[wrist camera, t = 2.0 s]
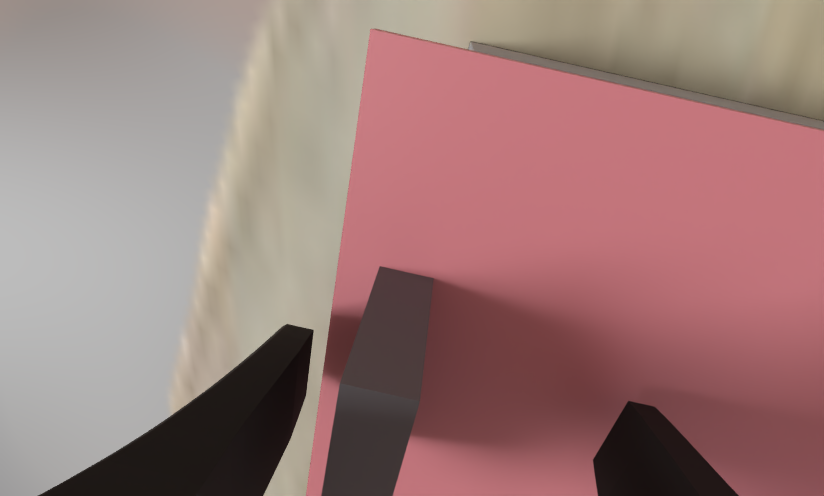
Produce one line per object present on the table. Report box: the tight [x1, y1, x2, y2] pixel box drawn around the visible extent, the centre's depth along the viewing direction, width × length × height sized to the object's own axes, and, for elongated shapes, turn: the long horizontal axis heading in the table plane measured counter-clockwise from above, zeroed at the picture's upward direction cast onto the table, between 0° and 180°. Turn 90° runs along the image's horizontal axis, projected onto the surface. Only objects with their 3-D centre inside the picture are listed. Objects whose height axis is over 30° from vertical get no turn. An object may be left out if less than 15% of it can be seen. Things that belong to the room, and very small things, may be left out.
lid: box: [306, 29, 824, 496], centre depth 9 cm, size 18×14×4 cm
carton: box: [468, 41, 824, 130], centre depth 13 cm, size 18×14×4 cm
